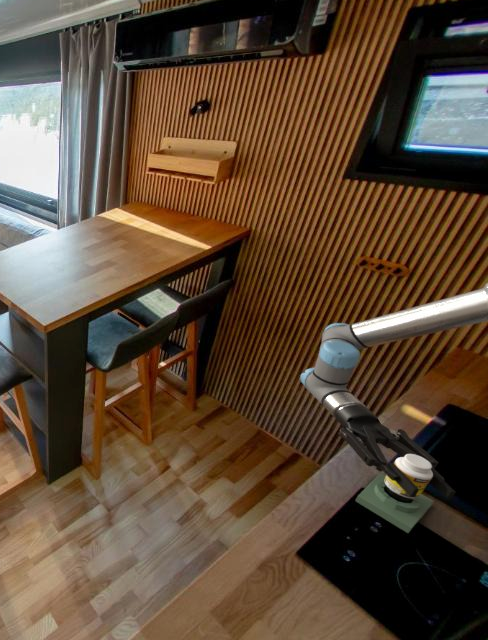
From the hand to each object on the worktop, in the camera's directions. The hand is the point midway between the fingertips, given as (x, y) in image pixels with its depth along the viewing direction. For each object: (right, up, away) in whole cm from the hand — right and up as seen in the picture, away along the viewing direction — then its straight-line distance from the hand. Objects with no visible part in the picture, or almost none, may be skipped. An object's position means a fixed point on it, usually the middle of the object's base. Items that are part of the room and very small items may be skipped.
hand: (432, 494), depth 80 cm
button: (+2, -5, +8) cm, 10 cm away
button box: (+3, -8, +10) cm, 13 cm away
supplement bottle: (+2, -3, +7) cm, 8 cm away
